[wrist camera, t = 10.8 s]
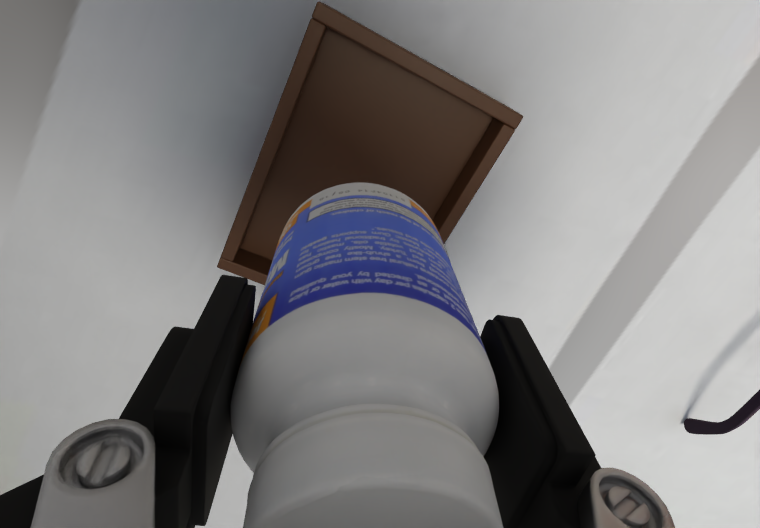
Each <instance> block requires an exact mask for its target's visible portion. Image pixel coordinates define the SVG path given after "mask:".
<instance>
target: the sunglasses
mask: <svg viewBox="0 0 760 528" xmlns="http://www.w3.org/2000/svg"><path fill="white" fill-rule="evenodd" d="M759 409H760V390H759V391H758V392H757V393H756V394H755V395H754V396H753V397H752V398H751V399H750V400H749V401H748V402H747V403H746V404H745V405H744V406H743V407H741V408H740V409H739V410H738V411H737V412H736V413H735V414H734V415H733V416H732V417H730V418H729V419H727V420H725V421H723V422H719V423H717V422H708V421H703V420H697V419H690V418H689V419H685V421H684V427H685V429H686V431H687V432H689V433H692V434H724V433H727V432H730V431H732V430H734V429H736V428H737V427H739V426H741V425H742V424H743V423H745V422H746V421H747V420H748V419H749V418H750V417H752V416H753V415H754V414H755V413H756V412H757V411H758V410H759Z"/></svg>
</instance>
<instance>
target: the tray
mask: <svg viewBox="0 0 760 528" xmlns="http://www.w3.org/2000/svg"><path fill="white" fill-rule="evenodd" d="M522 118H523V116H522V115H521V114H519V113H518V112H516V111H514V110H513V109H511V108H509V107H507V106H506V105H504V104H502V103H500V102H499V101H497V100H495V99H493V98H491V97H490V96H488V95H486V94H484V93H483V92H481V91H479V90H477V89H475V88H474V87H472V86H470V85H468V84H466V83H465V82H463V81H461V80H459V79H458V78H456V77H454V76H452V75H450V74H449V73H447V72H445V71H443V70H442V69H440V68H438V67H436V66H434V65H433V64H431V63H429V62H427V61H426V60H424V59H422V58H420V57H418V56H417V55H415V54H413V53H411V52H409V51H408V50H406V49H404V48H402V47H401V46H399V45H397V44H395V43H393V42H392V41H390V40H388V39H386V38H385V37H383V36H381V35H379V34H377V33H376V32H374V31H372V30H370V29H369V28H367V27H365V26H363V25H361V24H360V23H358V22H356V21H354V20H352V19H351V18H349V17H347V16H345V15H344V14H342V13H340V12H338V11H336V10H335V9H333V8H331V7H329V6H328V5H326V4H324V3H322V2H317V4H316V7H315V9H314V12H313V14H312V19H311V20H310V22H309V25H308V28H307V30H306V33H305V36H304V38H303V41H302V43H301V46H300V49H299V51H298V54H297V57H296V59H295V62H294V65H293V67H292V70H291V73H290V75H289V78H288V80H287V83H286V86H285V88H284V91H283V94H282V96H281V99H280V102H279V104H278V107H277V109H276V112H275V115H274V117H273V120H272V123H271V125H270V128H269V131H268V133H267V136H266V139H265V141H264V144H263V146H262V149H261V152H260V154H259V157H258V160H257V162H256V165H255V168H254V170H253V173H252V175H251V178H250V181H249V183H248V186H247V189H246V191H245V194H244V197H243V199H242V202H241V205H240V207H239V210H238V212H237V215H236V218H235V220H234V223H233V226H232V228H231V231H230V234H229V236H228V239H227V242H226V244H225V247H224V249H223V252H222V255H221V258H220V260H219V263H218V265H217V267H218V268H220V269H223V270H226V271H228V272H231V273H234V274H236V275H239V276H242V277H244V278H247V279H250V280H252V281H255V282H258V283H260V284H263V285H265V283H266V280H267V277H268V274H269V270H270V267H271V264H272V261H273V257H274V254H275V251H276V247H277V244H278V241H279V239H280V236H281V234H282V232H283V229H284V227H285V225H286V224H287V222H288V220H289V219H290V217H291V216H292V214H293V213H294V212H295V211H296V210H297V208H298V207H300V206H301V205H302V204H303V203H304V202H305V201H306V200H308V199H309V198H310V197H312V196H313V195H315V194H317V193H319V192H321V191H323V190H325V189H328V188H330V187H334V186H337V185H341V184H346V183H372V184H379V185H382V186H386V187H389V188H392V189H395V190H397V191H399V192H401V193H403V194H405V195H406V196H408V197H410V198H411V199H412V200H414V201H415V202H416V203H417V204H418V205H420V206H421V207H422V208H423V209H424V210H425V212H426V213H427V214H428V215H429V217H430V218H431V219H432V221H433V223H434V224H435V226H436V228H437V230H438V232H439V234H440V236H441V239H442V241H443V244H444V243H445V242H446V240H447V238H448V237H449V235H450V234H451V232H452V230H453V229H454V227H455V226H456V224H457V222H458V221H459V219H460V218H461V216H462V214H463V213H464V211H465V210H466V208H467V206H468V205H469V203H470V202H471V200H472V198H473V197H474V195H475V194H476V192H477V190H478V189H479V187H480V186H481V184H482V182H483V181H484V179H485V178H486V176H487V174H488V173H489V171H490V170H491V168H492V166H493V165H494V163H495V162H496V160H497V158H498V157H499V155H500V154H501V152H502V150H503V149H504V147H505V146H506V144H507V142H508V141H509V139H510V138H511V136H512V134H513V133H514V131H515V129H516V128H517V126H518V125H519V123H520V122H521V120H522Z"/></svg>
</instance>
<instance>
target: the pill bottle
mask: <svg viewBox="0 0 760 528" xmlns="http://www.w3.org/2000/svg"><path fill="white" fill-rule="evenodd" d="M230 408H231V412H230V414H231V427H232V432H233V436H234V439H235V442H236V445H237V447H238V450H239V452H240V454H241V455H242V457H243V459H244V461H245V462H246V463H247V465H248V466H249V468H250V469H251V470H252V471H253V472H254V475H253V480H252V482H251V485H250V489H249V492H248V500H247V509H246V514H245V520H244V526H243V528H503V524H502V520H501V516H500V512H499V508H498V504H497V500H496V496H495V492H494V488H493V484H492V478H491V474H490V470H489V467H488V465H487V463H486V461H485V459H484V457H483V456H484V455H485V453H486V452H487V450H488V448H489V446H490V444H491V442H492V439H493V437H494V434H495V431H496V427H497V423H498V417H499V393H498V387H497V383H496V379H495V375H494V372H493V369H492V367H491V364H490V362H489V359H488V356H487V353H486V351H485V348H484V345H483V343H482V340H481V338H480V336H479V333H478V331H477V328H476V326H475V323H474V321H473V318H472V315H471V313H470V311H469V308H468V306H467V303H466V301H465V298H464V296H463V293H462V291H461V288H460V285H459V283H458V281H457V278H456V276H455V273H454V271H453V268H452V266H451V263H450V260H449V257H448V255H447V251H446V249H445V247H444V244H443V241H442V239H441V236H440V234H439V232H438V230H437V228H436V226H435V224H434V223H433V221H432V219H431V218H430V217H429V215H428V214H427V213H426V212H425V210H424V209H423V208H422V207H421V206H420V205H418V204H417V203H416V202H415V201H414V200H412V199H411V198H410V197H408V196H406V195H405V194H403V193H401V192H399V191H397V190H395V189H392V188H389V187H386V186H382V185H379V184H372V183H346V184H341V185H337V186H334V187H330V188H328V189H325V190H323V191H321V192H319V193H317V194H315V195H313V196H312V197H310V198H309V199H308V200H306V201H305V202H304V203H303V204H302V205H301V206H300V207H298V208H297V210H296V211H295V212H294V213H293V214H292V216H291V217H290V219H289V220H288V222H287V224H286V225H285V227H284V229H283V232H282V234H281V236H280V239H279V241H278V244H277V247H276V251H275V254H274V257H273V261H272V264H271V267H270V270H269V274H268V277H267V280H266V283H265V287H264V290H263V293H262V296H261V299H260V303H259V306H258V309H257V312H256V315H255V318H254V322H253V325H252V328H251V331H250V335H249V338H248V341H247V344H246V347H245V351H244V354H243V357H242V360H241V363H240V367H239V370H238V374H237V378H236V382H235V385H234V389H233V393H232V400H231V404H230Z"/></svg>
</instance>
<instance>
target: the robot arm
mask: <svg viewBox="0 0 760 528" xmlns="http://www.w3.org/2000/svg"><path fill="white" fill-rule="evenodd" d="M255 292H256V286H253V285H248V280H247V278H241V277H235V276H228V275H222V276H221V277H220V279H219V281H218V283H217V285H216V287H215V289H214V291H213V293H212V295H211V297H210V299H209V301H208V303H207V305H206V307H205V309H204V311H203V313H202V315H201V317H200V319H199V320H198V322H197V324H196V326H195V328H194V329H189V328H182V327H174V328H172V329H171V330H170V332H169V333H168V335H167V337H166V338H165V340H164V342H163V344H162V345H161V347H160V349H159V351H158V352H157V354H156V356H155V357H154V359H153V361H152V363H151V364H150V366H149V368H148V369H147V371H146V373H145V375H144V376H143V378H142V380H141V381H140V383H139V385H138V387H137V388H136V390H135V392H134V394H133V395H132V397H131V399H130V400H129V402H128V404H127V406H126V407H125V409H124V411H123V412H122V414H121V416H120V418H119V419H108V420H104V421H99V422H95V423H92V424H89V425H87V426H85V427H83V428H80V429H78V430H76V431H75V432H73V433H72V434H71V435H69V436H68V437H66V438H65V439H64V440H63V441H62V442H61V443H60V444H59V445H58V446H57V447H56V448H55V450H54V451H53V452H52V454H51V456H50V458H49V461H48V463H47V465H46V469H45V473H44V475H42V476H40V477H38V478H36V479H33V480H31V481H29V482H27V483H25V484H23V485H21V486H19V487H17V488H15V489H13V490H10V491H8V492H6V493H4V494H2V495H0V528H194V527H195V525H200V526H205V525H206V522H207V519H208V516H209V513H210V509H211V506H212V502H213V499H214V495H215V492H216V489H217V485H218V482H219V478H220V475H221V471H222V468H223V464H224V461H225V458H226V454H227V451H228V447H229V444H230V440H231V437H232V433H233V432H232V427H231V414H230V412H231V408H230V404H231V400H232V393H233V389H234V385H235V382H236V378H237V374H238V370H239V367H240V363H241V360H242V357H243V354H244V351H245V347H246V344H247V341H248V338H249V335H250V331H251V328H252V325H253V315H254V304H255ZM480 338H481V340H482V343H483V345H484V348H485V351H486V353H487V356H488V359H489V362H490V364H491V367H492V369H493V372H494V375H495V379H496V383H497V387H498V393H499V417H498V423H497V427H496V431H495V434H494V437H493V439H492V442H491V444H490V446H489V448H488V450H487V452H486V453H485V455H484V456H483V457H484V459H485V461H486V463H487V465H488V467H489V470H490V474H491V478H492V484H493V488H494V492H495V496H496V500H497V504H498V508H499V512H500V516H501V520H502V524H503V528H675V526H674V523H673V520H672V517H671V515H670V513H669V511H668V509H667V507H666V505H665V504H664V502H663V501H662V500H661V498H660V497H659V496H658V495H657V494H656V493H655V492H654V491H653V490H652V489H651V488H650V487H649V486H648V485H647V484H646V483H644V482H643V481H641V480H640V479H638V478H637V477H635V476H634V475H631V474H629V473H627V472H625V471H623V470H619V469H615V468H601V467H600V465H599V463H598V461H597V460H596V458H595V453H594V451H593V449H592V448H591V446H590V444H589V442H588V440H587V438H586V437H585V435H584V433H583V431H582V429H581V427H580V426H579V424H578V422H577V420H576V418H575V416H574V415H573V413H572V411H571V409H570V407H569V405H568V404H567V402H566V400H565V398H564V397H563V395H562V393H561V391H560V389H559V387H558V385H557V383H556V382H555V380H554V378H553V376H552V374H551V372H550V371H549V369H548V367H547V365H546V363H545V361H544V360H543V358H542V356H541V354H540V352H539V350H538V349H537V347H536V345H535V343H534V341H533V339H532V338H531V336H530V334H529V332H528V330H527V328H526V327H525V325H524V323H523V321H522V320H521V319H520V318H515V317H508V316H501V315H497V316H495V317H494V319H493V320H488V321H487V322H486V324H485V326H484V329H483V331H482V334H481V336H480Z"/></svg>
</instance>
